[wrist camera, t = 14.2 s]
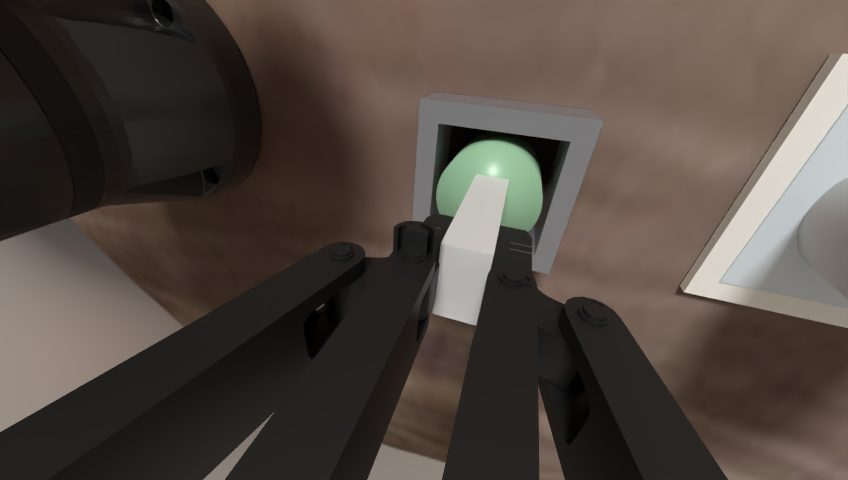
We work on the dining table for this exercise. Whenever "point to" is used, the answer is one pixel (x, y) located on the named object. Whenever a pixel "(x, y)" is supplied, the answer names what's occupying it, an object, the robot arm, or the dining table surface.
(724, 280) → the white flat piece
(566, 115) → the button box
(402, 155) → the dining table surface
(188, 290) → the dining table surface
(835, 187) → the coffee cup
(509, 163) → the button
